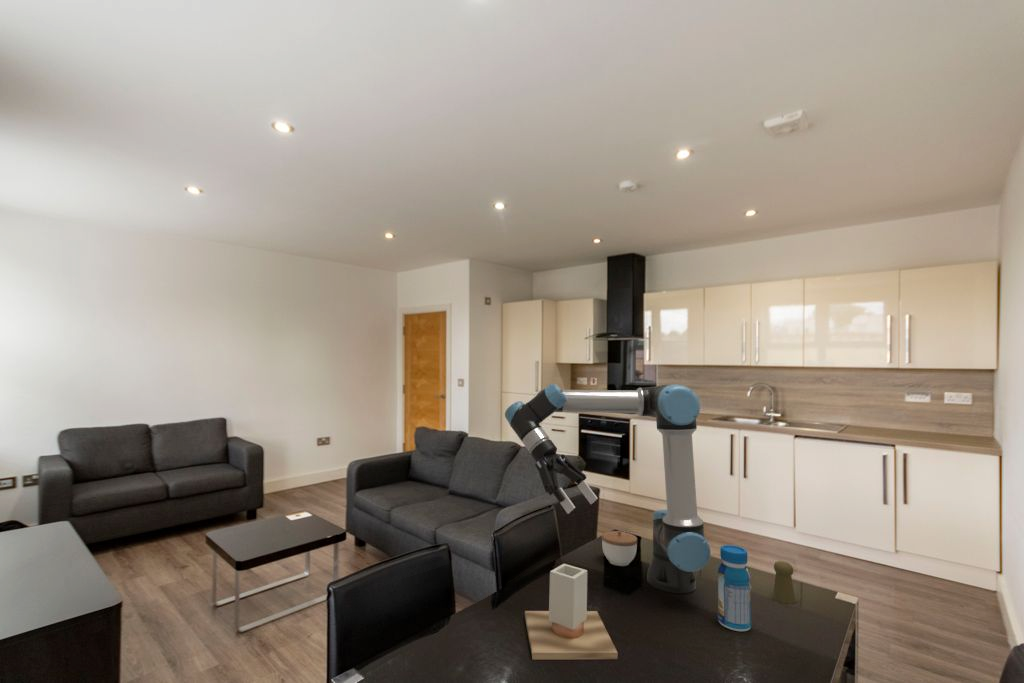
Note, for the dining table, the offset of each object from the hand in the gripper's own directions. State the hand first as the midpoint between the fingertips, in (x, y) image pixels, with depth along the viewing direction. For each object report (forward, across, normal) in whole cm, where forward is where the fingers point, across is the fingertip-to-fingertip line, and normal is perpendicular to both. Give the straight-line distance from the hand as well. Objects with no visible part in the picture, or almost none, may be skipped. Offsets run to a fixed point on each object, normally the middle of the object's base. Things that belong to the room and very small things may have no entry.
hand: (583, 506), depth 133 cm
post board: (+23, +12, -19) cm, 32 cm away
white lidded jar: (+15, -44, -27) cm, 54 cm away
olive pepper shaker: (+52, -50, +9) cm, 73 cm away
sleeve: (+20, +12, -16) cm, 28 cm away
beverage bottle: (+46, -23, +3) cm, 51 cm away
